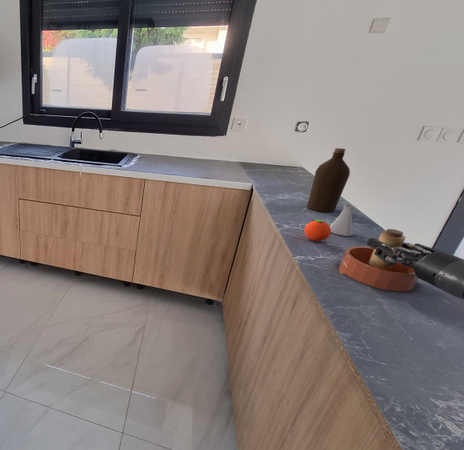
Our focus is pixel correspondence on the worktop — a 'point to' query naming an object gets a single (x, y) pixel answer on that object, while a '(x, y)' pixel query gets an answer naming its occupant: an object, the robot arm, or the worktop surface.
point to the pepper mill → (389, 238)
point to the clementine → (317, 230)
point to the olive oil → (329, 183)
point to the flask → (344, 222)
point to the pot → (376, 271)
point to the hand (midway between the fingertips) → (378, 240)
